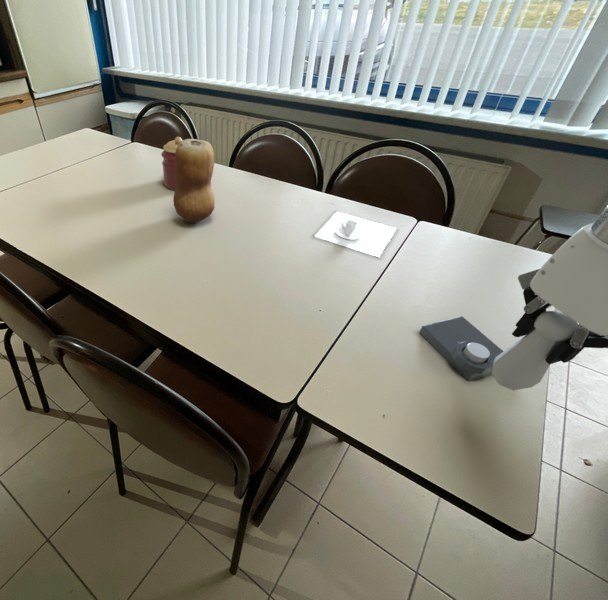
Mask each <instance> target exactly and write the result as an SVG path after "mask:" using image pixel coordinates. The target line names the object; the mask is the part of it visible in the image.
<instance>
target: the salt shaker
mask: <svg viewBox="0 0 608 600" xmlns="http://www.w3.org/2000/svg"><path fill="white" fill-rule="evenodd" d="M578 325H579V323H577V322H576V321H574V320H573V319H571V318H570V317H568V316H567V315H565V314H564V313H562V312H561V311H557V310H546V311H545V312H544V313H542V314H540V315H539V316H538V317H537V318H536V320H535V324H534V327H535V329H533V330H532V331H531V332H530V333H528V334H527V335H524V336H522V337H521V339H519V340H517V341H516V342H515V343H513V344H512V345H511V346H509V347H508V348H506V349H505V350H503V351H504V352H502V353H501V354H500V355H498V356H497V357H496V358H495V360H494V363H493V370H492V374H491V376H493V378H494V379H495V381H496V383H498V385H499V386H502V387H504V388H506V389H509V390H510V391H513V392H514V391H519V390H524V389H530V388H533V387H534V386H536V385H539V383H541V382H542V379H543V378H544V376H545V375H546V372H547V371H548V369H549V367H550V365H551V364H548V363H547V362H546V360H545V359H546V358H547V357H548V356H549V355H550V354H551V353H552V352H553V350H554V349H555V348H556V347H557V346H558V345H559V344H560V343H561V342H563V341H565V340H570V339H571V338H572V336H573V334H574V333H575V331H576V329H577V327H578Z"/></svg>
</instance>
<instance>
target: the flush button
mask: <svg viewBox="0 0 608 600" xmlns="http://www.w3.org/2000/svg"><path fill="white" fill-rule="evenodd" d="M463 354H464V356H465V357H467V358H468V359H469V360H471V361H473V362H475V363H484V362H485V361H486V360H487V358H488V357H489V356H490V352H489V350H488V349H487V348H486V347H484V346H483V345H481V344H478V343H469V344H468V345H467V346H466V348H465V349H464V350H463Z"/></svg>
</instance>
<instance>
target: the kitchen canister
mask: <svg viewBox="0 0 608 600" xmlns="http://www.w3.org/2000/svg"><path fill="white" fill-rule="evenodd" d="M183 140H184V139H182V137H180V136H176V137H175V138H174V140H170V141H168V142H167V143H166V144H164V145H163V147H162V148H163V150H162V152H161V157H162V162H161V165H162V173H163V183H164V186H165V187H166V188H167V189H169V190H172V191H175V188H176V178H175V173H174V166H175V153H176V149H177V146H178V145H179V144H180V143H181V142H182V141H183Z"/></svg>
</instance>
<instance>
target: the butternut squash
mask: <svg viewBox="0 0 608 600" xmlns="http://www.w3.org/2000/svg"><path fill="white" fill-rule="evenodd" d="M182 140H183V141H182V142H181V143H180V144H179V145H178V146H177V149H176V153H175V166H174V173H175V178H176V188H175V190H174V192H173V193H174V194H173V198H172V199H173V200H172V201H173V207H174V209H175V212H176V214H177V215H178V217H181V219H182V220H183V221H185V222H187V223H189V224H195V223H198V222H201V221H203V220H205V219H207V218H208V217H210V216H211V215H212V213H213V212H214V210H215V208H216V207H215V203H216V201H215V200H216V199H215V194H214V191H213V187H212V177H213V174H214V169H215V153H214V148H213V146H212V144H211V143H210V142H208V141H206V140H202V139H197V138H185V139H182Z"/></svg>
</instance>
